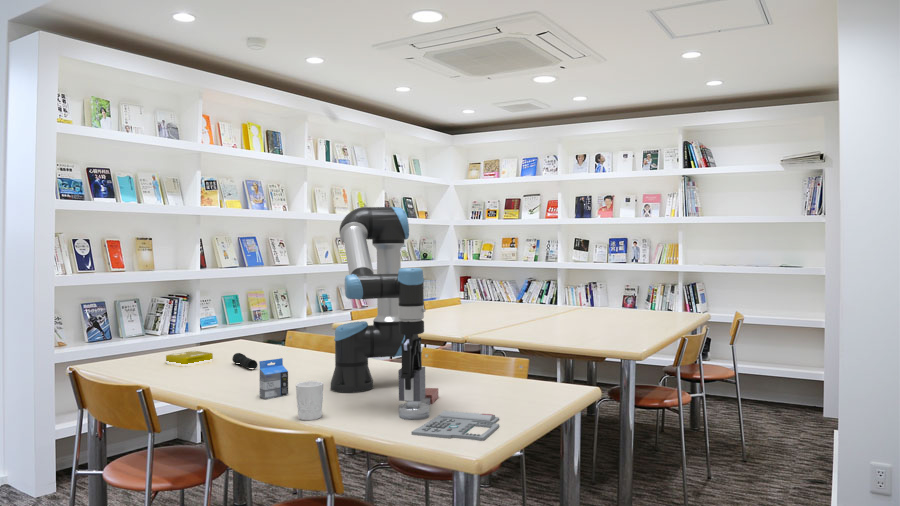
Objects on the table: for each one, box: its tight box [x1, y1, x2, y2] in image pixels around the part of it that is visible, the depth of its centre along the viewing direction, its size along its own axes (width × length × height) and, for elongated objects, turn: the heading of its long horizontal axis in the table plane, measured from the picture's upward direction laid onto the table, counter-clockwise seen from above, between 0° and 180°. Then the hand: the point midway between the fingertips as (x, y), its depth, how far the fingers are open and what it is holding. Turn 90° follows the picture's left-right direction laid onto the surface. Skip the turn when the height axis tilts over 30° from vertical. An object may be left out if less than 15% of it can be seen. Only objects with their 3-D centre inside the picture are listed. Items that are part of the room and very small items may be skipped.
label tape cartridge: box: [259, 357, 289, 400], centre depth 217 cm, size 9×4×12 cm, turn 134°
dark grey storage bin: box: [398, 366, 426, 402], centre depth 189 cm, size 6×6×9 cm
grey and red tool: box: [398, 387, 439, 421], centre depth 199 cm, size 29×9×7 cm, turn 169°
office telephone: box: [410, 410, 500, 442], centre depth 177 cm, size 23×3×20 cm
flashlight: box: [231, 352, 258, 369], centre depth 273 cm, size 5×21×5 cm, turn 35°
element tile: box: [165, 350, 214, 364], centre depth 284 cm, size 15×15×5 cm
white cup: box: [295, 380, 324, 421], centre depth 189 cm, size 8×8×10 cm
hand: (412, 397), depth 189 cm, fingers closed on dark grey storage bin, 6 cm apart
